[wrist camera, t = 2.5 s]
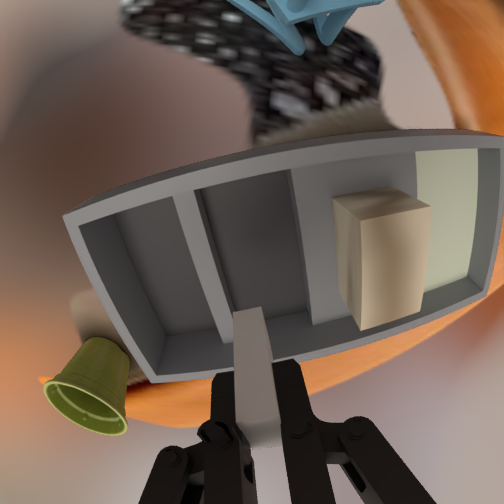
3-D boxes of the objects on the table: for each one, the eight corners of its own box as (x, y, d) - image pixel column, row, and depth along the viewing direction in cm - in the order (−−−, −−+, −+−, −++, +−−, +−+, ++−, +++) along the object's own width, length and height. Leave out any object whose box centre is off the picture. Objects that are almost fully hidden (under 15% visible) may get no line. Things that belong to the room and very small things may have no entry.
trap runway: (465, 129, 18) (505, 136, 13) (458, 271, 25) (486, 296, 20) (97, 194, 20) (62, 215, 15) (162, 342, 26) (151, 383, 21)
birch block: (391, 186, 18) (431, 206, 14) (391, 277, 22) (420, 311, 17) (331, 197, 18) (360, 220, 14) (338, 291, 22) (360, 330, 17)
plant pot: (66, 314, 25) (31, 369, 17) (143, 336, 26) (121, 402, 18) (79, 367, 28) (57, 417, 21) (145, 386, 30) (131, 443, 22)
